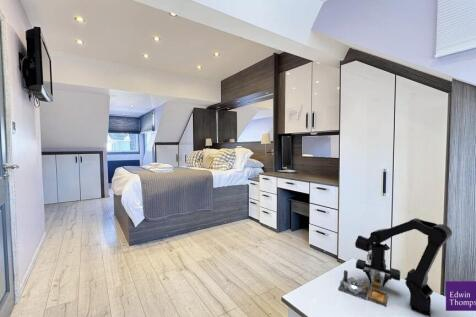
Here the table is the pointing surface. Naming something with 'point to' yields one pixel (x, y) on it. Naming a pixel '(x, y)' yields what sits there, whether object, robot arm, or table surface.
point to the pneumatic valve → (374, 272)
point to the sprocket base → (353, 292)
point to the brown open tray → (377, 296)
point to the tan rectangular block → (376, 283)
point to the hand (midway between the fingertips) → (376, 285)
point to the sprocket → (353, 284)
